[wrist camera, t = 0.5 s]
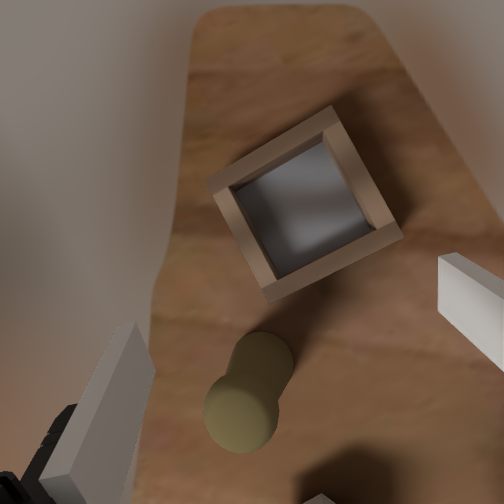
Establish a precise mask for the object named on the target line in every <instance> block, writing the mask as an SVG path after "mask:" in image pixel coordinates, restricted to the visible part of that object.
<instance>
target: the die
mask: <svg viewBox="0 0 504 504" xmlns="http://www.w3.org/2000/svg"><path fill="white" fill-rule="evenodd" d="M303 504H336V503H334V502H333V501H332V500H330V499H329V498H327V497H326V496H325V495H323V494H322V493H321V494H319V495H317V496H315V497H314V498H312V499H310V500H308V501H306V502H305V503H303Z"/></svg>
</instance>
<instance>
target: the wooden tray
mask: <svg viewBox="0 0 504 504" xmlns="http://www.w3.org/2000/svg"><path fill="white" fill-rule="evenodd" d="M205 182H206V184H207V185H208V187H209V189H210V191H211V193H212V195H213V197H214V199H215V201H216V203H217V205H218V207H219V209H220V210H221V212H222V214H223V216H224V218H225V220H226V222H227V224H228V226H229V228H230V230H231V232H232V233H233V235H234V237H235V239H236V241H237V243H238V245H239V247H240V249H241V251H242V253H243V255H244V256H245V258H246V260H247V262H248V264H249V266H250V268H251V270H252V272H253V274H254V276H255V278H256V280H257V281H258V283H259V285H260V287H261V289H262V291H263V293H264V295H265V297H266V299H267V301H268V303H269V304H272V303H274V302H276V301H278V300H280V299H282V298H284V297H286V296H288V295H290V294H292V293H294V292H296V291H298V290H300V289H302V288H304V287H306V286H308V285H310V284H312V283H314V282H316V281H318V280H320V279H322V278H324V277H326V276H328V275H330V274H332V273H334V272H336V271H338V270H340V269H342V268H344V267H346V266H348V265H350V264H352V263H354V262H356V261H358V260H360V259H362V258H364V257H366V256H368V255H370V254H372V253H374V252H376V251H378V250H380V249H382V248H384V247H386V246H388V245H390V244H392V243H394V242H396V241H398V240H400V239H402V238H404V235H403V234H402V232H401V230H400V228H399V226H398V224H397V223H396V221H395V219H394V217H393V215H392V214H391V212H390V210H389V208H388V206H387V205H386V203H385V201H384V199H383V197H382V196H381V194H380V192H379V190H378V188H377V187H376V185H375V183H374V181H373V179H372V177H371V176H370V174H369V172H368V170H367V168H366V167H365V165H364V163H363V161H362V159H361V158H360V156H359V154H358V152H357V150H356V149H355V147H354V145H353V143H352V141H351V140H350V138H349V136H348V134H347V132H346V130H345V129H344V127H343V125H342V123H341V121H340V120H339V118H338V116H337V114H336V112H335V111H334V109H333V107H332V105H330V106H328V107H327V108H325V109H323V110H322V111H320V112H318V113H317V114H315V115H313V116H312V117H310V118H308V119H306V120H305V121H303V122H301V123H300V124H298V125H296V126H295V127H293V128H291V129H290V130H288V131H286V132H285V133H283V134H281V135H280V136H278V137H276V138H275V139H273V140H271V141H270V142H268V143H266V144H265V145H263V146H261V147H259V148H258V149H256V150H254V151H253V152H251V153H249V154H248V155H246V156H244V157H243V158H241V159H239V160H238V161H236V162H234V163H233V164H231V165H229V166H228V167H226V168H224V169H223V170H221V171H219V172H218V173H216V174H214V175H213V176H211V177H209V178H207V179H206V180H205Z"/></svg>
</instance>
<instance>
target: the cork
mask: <svg viewBox="0 0 504 504" xmlns="http://www.w3.org/2000/svg"><path fill="white" fill-rule="evenodd" d="M293 366H294V363H293V357H292V353H291V351H290V349H289V347H288V345H287V344H286V343H285V342H284V341H283V340H282V339H281V338H279V337H277V336H276V335H274V334H272V333H268V332H262V331H260V332H252V333H250V334H248V335H246V336H244V337H243V338H242V339H241V340H240V341H239V342H238V343H237V344H236V346H235V348H234V350H233V352H232V355H231V358H230V361H229V364H228V368H227V371H226V374H225V375H224V376H222V377H220V378H219V379H218V380H217V381H216V382H215V383H214V384H213V385H212V387H211V388H210V390H209V392H208V394H207V396H206V398H205V404H204V411H203V415H204V421H205V425H206V427H207V429H208V432H209V434H210V436H211V437H212V438H213V439H214V440H215V442H216V443H217V444H218V445H220V446H221V447H223V448H224V449H226V450H228V451H232V452H235V453H248V452H252V451H255V450H257V449H260V448H261V447H262V446H264V445H265V444H266V443H267V442H268V441H269V440H270V439H271V437H272V435H273V434H274V432H275V430H276V428H277V424H278V417H279V405H278V399H279V398H280V396H281V394H282V392H283V390H284V389H285V387H286V385H287V383H288V381H289V379H290V378H291V376H292V373H293Z"/></svg>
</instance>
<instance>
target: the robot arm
mask: <svg viewBox="0 0 504 504" xmlns="http://www.w3.org/2000/svg"><path fill="white" fill-rule="evenodd" d="M438 311H439V312H440V313H441V314H442V315H443V316H444V317H445V318H446V319H447V320H448V321H449V322H450V323H452V324H453V325H454V326H455V327H456V328H457V329H458V330H459V331H460V332H461V333H462V334H463V335H465V336H466V337H467V338H468V339H469V340H470V341H471V342H472V343H473V344H474V345H475V346H476V347H477V348H479V349H480V350H481V351H482V352H483V353H484V354H485V355H486V356H487V357H488V358H489V359H490V360H492V361H493V362H494V363H495V364H496V365H497V366H498V367H499V368H500V369H501V370H502V371H503V372H504V281H503V280H502V279H500V278H498V277H497V276H495V275H493V274H492V273H490V272H488V271H487V270H485V269H483V268H482V267H480V266H478V265H477V264H475V263H473V262H472V261H470V260H468V259H467V258H465V257H463V256H462V255H460V254H458V253H457V252H456V253H451V254H446V255H442V256H438ZM155 372H156V370H155V368H154V365H153V363H152V360H151V358H150V355H149V353H148V350H147V348H146V345H145V343H144V340H143V338H142V335H141V333H140V330H139V328H138V326H137V323H136V322H131V323H126V324H122V325H118V327H117V329H116V331H115V333H114V335H113V337H112V339H111V341H110V343H109V345H108V347H107V348H106V350H105V353H104V354H103V356H102V358H101V360H100V362H99V364H98V366H97V368H96V370H95V372H94V374H93V375H92V377H91V379H90V381H89V383H88V385H87V387H86V389H85V391H84V393H83V395H82V397H81V399H80V401H79V403H77V404H73V405H68V406H67V407H66V408H65V409H64V410H63V411H62V412H61V413H60V415H58V417H57V418H56V419H55V420H54V422H53V424H52V425H51V427H50V429H49V431H48V432H47V436H46V437H45V438H44V440H43V441H42V443H41V445H40V448H39V449H38V450H37V452H36V454H35V455H34V457H33V459H32V461H31V462H30V464H29V466H28V468H27V469H26V471H25V473H24V475H23V477H22V478H21V480H20V481H19V480H18V478H17V477H16V476H15V475H14V474H13V472H8V471H3V472H0V504H119V502H120V498H121V495H122V491H123V488H124V484H125V480H126V476H127V473H128V469H129V466H130V462H131V459H132V455H133V452H134V448H135V444H136V441H137V437H138V434H139V430H140V426H141V423H142V419H143V416H144V412H145V408H146V405H147V401H148V398H149V394H150V390H151V387H152V383H153V380H154V376H155Z"/></svg>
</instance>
